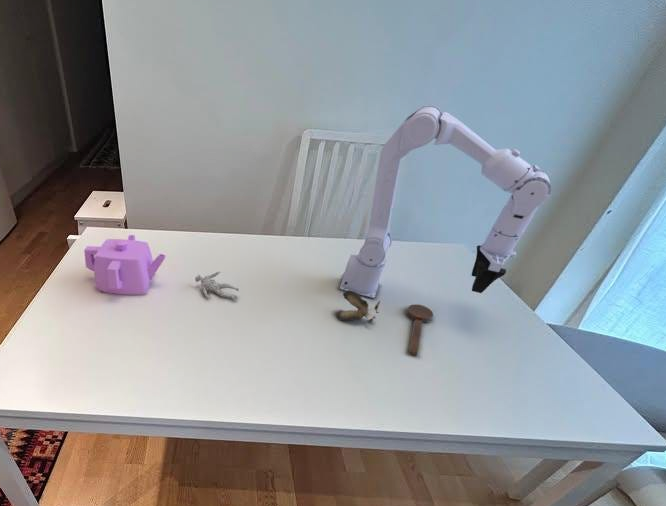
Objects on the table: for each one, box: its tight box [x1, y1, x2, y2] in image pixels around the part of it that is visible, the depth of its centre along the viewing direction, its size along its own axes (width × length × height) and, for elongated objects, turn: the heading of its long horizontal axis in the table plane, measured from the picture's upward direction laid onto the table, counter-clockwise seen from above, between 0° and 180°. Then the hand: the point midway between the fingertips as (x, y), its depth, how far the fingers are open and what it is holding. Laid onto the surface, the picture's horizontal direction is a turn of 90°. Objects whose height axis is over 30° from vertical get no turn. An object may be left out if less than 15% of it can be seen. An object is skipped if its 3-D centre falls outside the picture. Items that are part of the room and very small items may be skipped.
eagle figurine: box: [335, 290, 381, 323], centre depth 96 cm, size 8×7×9 cm
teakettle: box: [83, 234, 167, 296], centre depth 104 cm, size 17×17×12 cm
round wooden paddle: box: [405, 303, 434, 357], centre depth 95 cm, size 20×6×1 cm, turn 153°
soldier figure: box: [194, 271, 240, 300], centre depth 104 cm, size 8×5×12 cm
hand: (476, 283), depth 93 cm, fingers open, 7 cm apart
